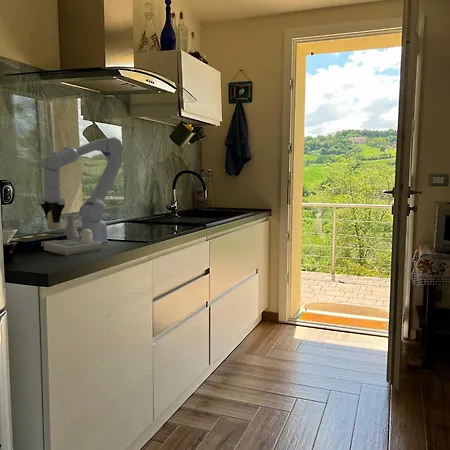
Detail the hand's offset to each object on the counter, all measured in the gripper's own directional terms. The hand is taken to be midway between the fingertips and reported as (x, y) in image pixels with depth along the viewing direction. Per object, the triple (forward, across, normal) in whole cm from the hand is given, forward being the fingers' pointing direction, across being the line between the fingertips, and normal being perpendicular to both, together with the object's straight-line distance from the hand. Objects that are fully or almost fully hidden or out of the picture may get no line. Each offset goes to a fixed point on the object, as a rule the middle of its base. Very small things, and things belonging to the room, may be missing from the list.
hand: (53, 222), depth 175 cm
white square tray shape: (+9, +13, 0) cm, 16 cm away
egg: (+2, 0, 0) cm, 2 cm away
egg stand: (+9, 0, 0) cm, 9 cm away
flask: (+10, -12, +15) cm, 21 cm away
